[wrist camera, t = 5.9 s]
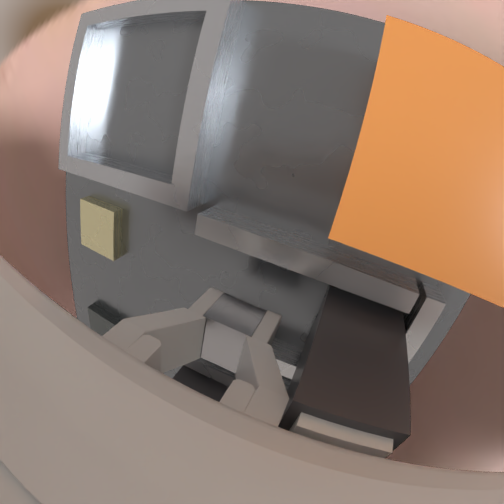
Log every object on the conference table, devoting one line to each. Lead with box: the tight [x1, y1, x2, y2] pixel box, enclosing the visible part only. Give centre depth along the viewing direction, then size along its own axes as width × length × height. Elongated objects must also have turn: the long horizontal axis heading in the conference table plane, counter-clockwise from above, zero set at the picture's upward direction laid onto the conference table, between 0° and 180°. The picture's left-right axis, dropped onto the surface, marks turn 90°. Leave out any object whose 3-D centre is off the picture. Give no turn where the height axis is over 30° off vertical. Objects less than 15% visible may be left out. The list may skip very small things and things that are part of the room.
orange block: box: [328, 15, 504, 308], centre depth 6 cm, size 5×5×4 cm
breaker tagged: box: [278, 286, 411, 458], centre depth 8 cm, size 3×3×6 cm
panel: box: [59, 0, 470, 391], centre depth 13 cm, size 20×22×3 cm
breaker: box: [172, 365, 229, 402], centre depth 13 cm, size 3×3×6 cm
